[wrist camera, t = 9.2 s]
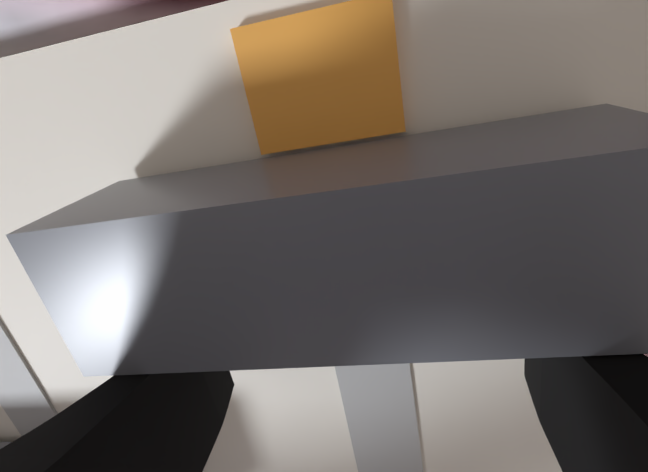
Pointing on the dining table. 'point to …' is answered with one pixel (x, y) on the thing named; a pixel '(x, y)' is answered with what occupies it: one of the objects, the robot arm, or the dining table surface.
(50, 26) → the dining table surface
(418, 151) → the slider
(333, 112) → the switch board
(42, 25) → the dining table surface
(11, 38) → the dining table surface
